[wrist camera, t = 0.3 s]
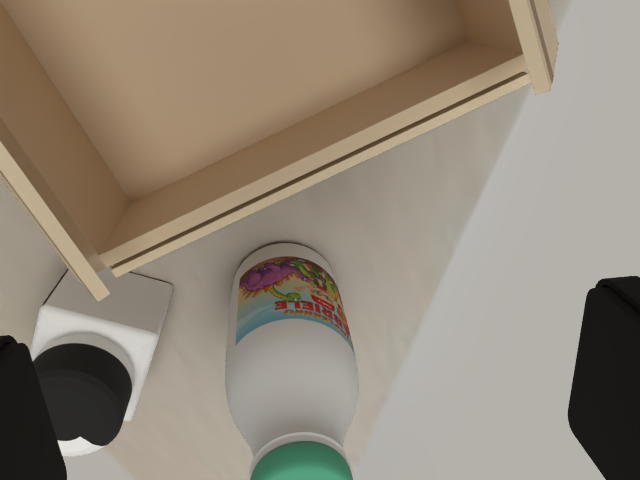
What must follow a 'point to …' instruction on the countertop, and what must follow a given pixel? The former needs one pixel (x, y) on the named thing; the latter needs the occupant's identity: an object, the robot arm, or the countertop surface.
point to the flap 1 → (49, 225)
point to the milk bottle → (290, 365)
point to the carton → (227, 103)
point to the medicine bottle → (96, 355)
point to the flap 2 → (536, 40)
